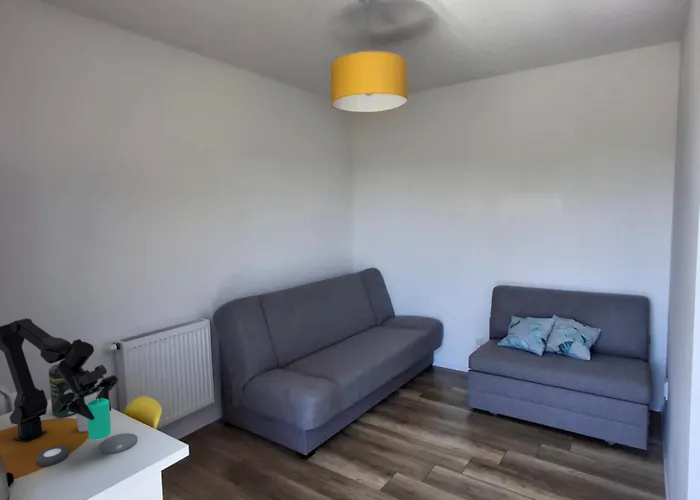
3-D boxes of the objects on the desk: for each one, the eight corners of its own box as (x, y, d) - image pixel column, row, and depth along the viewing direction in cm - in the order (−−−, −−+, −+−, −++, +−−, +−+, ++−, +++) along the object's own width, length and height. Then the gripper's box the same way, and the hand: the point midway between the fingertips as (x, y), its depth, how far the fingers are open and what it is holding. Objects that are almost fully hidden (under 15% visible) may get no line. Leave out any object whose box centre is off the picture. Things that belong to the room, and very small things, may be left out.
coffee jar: (48, 413, 163) (44, 365, 162) (71, 405, 170) (68, 359, 168) (59, 420, 158) (55, 370, 156) (83, 411, 164) (79, 364, 162)
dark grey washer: (30, 465, 129) (29, 458, 129) (53, 450, 137) (53, 444, 137) (52, 467, 128) (51, 461, 128) (74, 453, 136) (74, 446, 135)
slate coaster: (90, 451, 136) (90, 449, 136) (116, 434, 147) (116, 431, 147) (120, 455, 134) (120, 453, 134) (144, 437, 144) (144, 435, 144)
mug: (78, 434, 147) (75, 400, 146) (75, 427, 152) (73, 394, 151) (111, 425, 153) (109, 392, 152) (107, 418, 159) (105, 386, 157)
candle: (96, 441, 129) (94, 403, 128) (84, 437, 132) (81, 399, 131) (115, 432, 135) (113, 395, 134) (103, 428, 137) (100, 392, 136)
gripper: (55, 370, 124) (85, 413, 121) (112, 350, 141) (139, 388, 138) (39, 392, 128) (67, 435, 125) (97, 370, 145) (123, 407, 142)
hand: (101, 415), depth 132 cm, fingers closed on candle, 5 cm apart
